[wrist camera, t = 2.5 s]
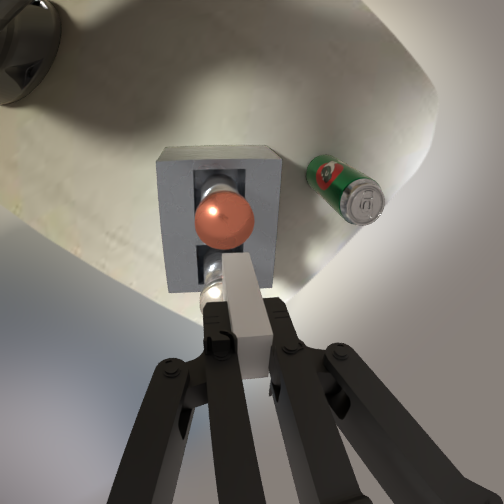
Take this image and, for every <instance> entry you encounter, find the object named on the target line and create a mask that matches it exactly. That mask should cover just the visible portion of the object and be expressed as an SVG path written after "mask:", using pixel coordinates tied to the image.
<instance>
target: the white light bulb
mask: <svg viewBox="0 0 504 504" xmlns="http://www.w3.org/2000/svg"><path fill="white" fill-rule="evenodd" d="M222 253H234V252H233V251H232V250H231V249H225V250H222V249H215V248H210V249H209V250H208V251H207V252H206V253H205V255H204V259H203V263H204V288H203V289H202V291H201V294H200V310H201V312H202V314H203V308H204V306H205V304H206V303H207V302H220V301H224V300H223V287H222Z"/></svg>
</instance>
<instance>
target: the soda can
mask: <svg viewBox="0 0 504 504" xmlns="http://www.w3.org/2000/svg"><path fill="white" fill-rule="evenodd" d="M306 178H307V182H308V184H309V185H310V187H311V188H312V189H313V190H315V191H316V192H317V193H318V194H319V195H320V196H321V197H322V198H323V199H324V200H325V201H326V202H327V203H328V204H329V205H330V206H331V207H332V208H333V209H334V210H335V211H336V212H337V213H338V214H339V215H340V216H342V217H343V218H344V219H345V220H346V221H347V222H349V223H351V224H356V225H362V226H363V225H368V224H371V223H372V222H374V221H375V220H376V219H378V218H379V216H380V215H381V213H382V211H383V209H384V204H385V199H384V195H383V193H382V190H381V188H380V186H379V184H378V183H377V182H376V181H375V180H373V179H371V178H370V177H368V176H366V175H365V174H363V173H361V172H360V171H358V170H356V169H354V168H353V167H351V166H349V165H348V164H346V163H344V162H342V161H340V160H339V159H337V158H335V157H333V156H331V155H320V156H318V157H316V158H314V159H313V160H312V161H311V162H310V164H309V165H308V168H307V171H306Z"/></svg>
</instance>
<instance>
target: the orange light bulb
mask: <svg viewBox="0 0 504 504" xmlns="http://www.w3.org/2000/svg"><path fill="white" fill-rule="evenodd" d="M254 223H255V219H254V214H253V211H252V209H251V206H250V204H249V203H248V201H247V200H246V199H245V198H244V197H243V196H241V195H240V194H239V192H238V189H237V186H236V184H235V182H234V180H233V179H232V178H231V177H229V176H227V175H225V174H214V175H211V176H209V177H208V178H207V179H206V180H205V181H204V182H203V184H202V187H201V202H200V203H199V205H198V207H197V209H196V212H195V229H196V232H197V235H198V236H199V238H200V239H201V240H202V241H203V242H204V243H205V244H206V245H208V246H210V247H212V248H215V249H222V250H225V249H232V248H235V247H237V246H239V245H241V244H243V243H244V242H245V241H246V240H247V239H248V238H249V236H250V235H251V233H252V231H253V228H254Z"/></svg>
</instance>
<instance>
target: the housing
mask: <svg viewBox="0 0 504 504" xmlns="http://www.w3.org/2000/svg"><path fill="white" fill-rule="evenodd" d="M281 170H282V159H281V158H280V157H279V156H278V155H277V154H276V153H274V152H273V151H272V150H271V149H270V148H268V147H267V146H266V145H209V146H181V147H165V149H164V150H163V152H162V153H161V155H160V156H159V158H158V159H157V161H156V171H157V187H158V201H159V213H160V224H161V234H162V243H163V252H164V261H165V269H166V277H167V284H168V291H169V293H183V292H201V291H202V289H203V288H204V263H203V259H204V255H205V253H206V252H207V251H208V250H209V249H210V248H212V247H210V246H208V245H206V244H205V243H204V242H203V241H202V240H201V239H200V238H199V236H198V235H197V232H196V229H195V212H196V209H197V207H198V205H199V203H200V202H201V187H202V184H203V182H204V181H205V180H206V179H207V178H208V177H209V176H211V175H214V174H225V175H227V176H229V177H231V178H232V179H233V180H234V182H235V184H236V186H237V189H238V192H239V194H240V195H241V196H243V197H244V198H245V199H246V200H247V201H248V203H249V204H250V206H251V209H252V211H253V214H254V219H255V223H254V228H253V231H252V233H251V235H250V236H249V238H248V239H247V240H246V241H245V242H244V243H243V244H241V245H239V246H237V247H235V248H232V249H231V250H232V251H233V252H234V253H245V252H249V254H250V258H251V261H252V264H253V268H254V271H255V275H256V278H257V281H258V285H259V288H272V283H273V272H274V261H275V249H276V237H277V224H278V212H279V198H280V185H281Z"/></svg>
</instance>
